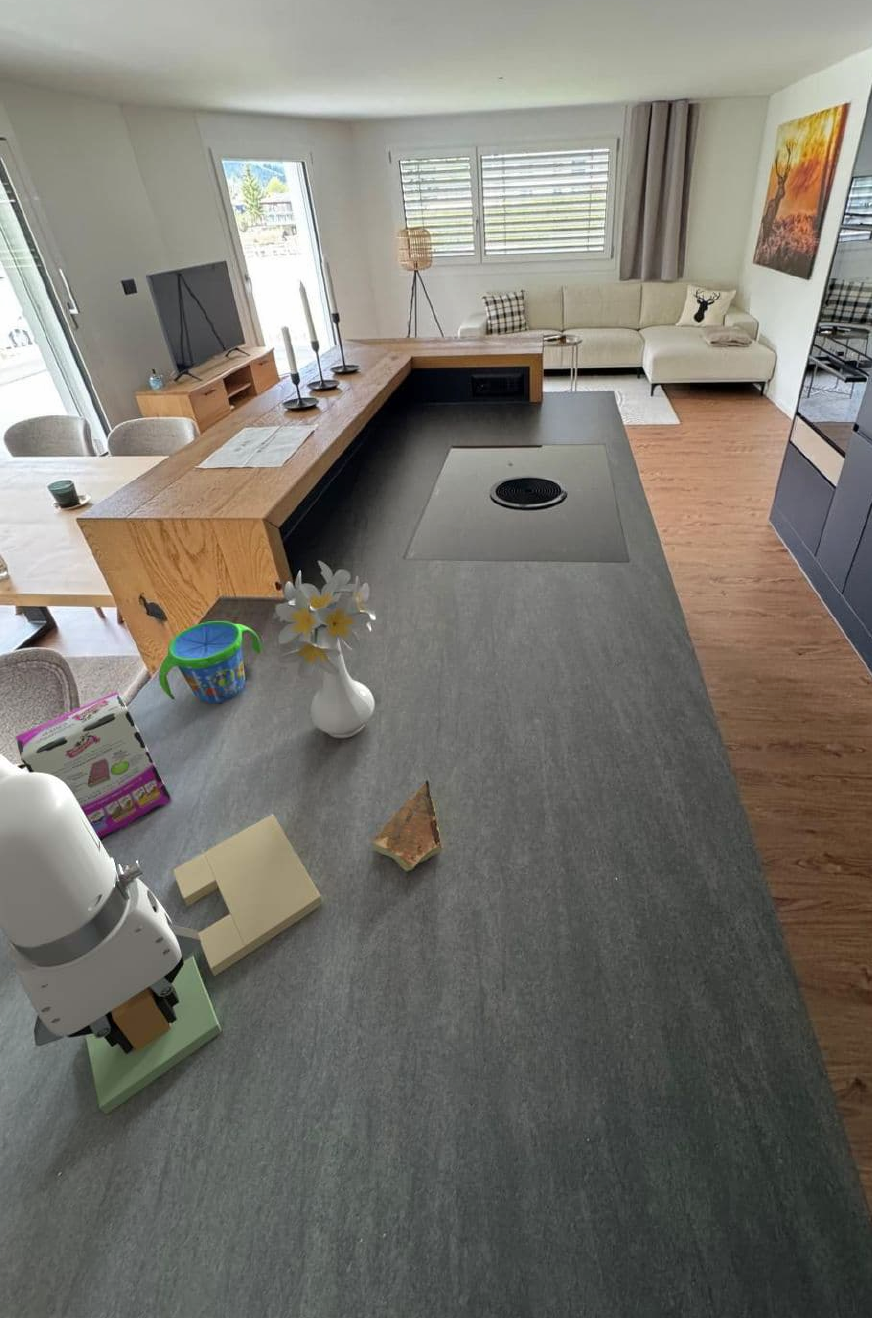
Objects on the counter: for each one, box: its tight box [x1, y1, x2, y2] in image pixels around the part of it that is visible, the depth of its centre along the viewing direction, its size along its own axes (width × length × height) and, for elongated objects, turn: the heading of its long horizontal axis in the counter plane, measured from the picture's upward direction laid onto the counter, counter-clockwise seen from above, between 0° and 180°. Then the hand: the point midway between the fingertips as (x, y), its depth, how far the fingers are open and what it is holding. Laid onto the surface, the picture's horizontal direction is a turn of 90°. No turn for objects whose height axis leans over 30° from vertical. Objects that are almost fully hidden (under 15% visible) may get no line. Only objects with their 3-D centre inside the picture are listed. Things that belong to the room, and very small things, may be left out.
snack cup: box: [158, 620, 262, 704], centre depth 98 cm, size 16×10×10 cm
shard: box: [372, 779, 444, 872], centre depth 76 cm, size 11×8×2 cm
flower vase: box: [272, 560, 377, 739], centre depth 86 cm, size 13×18×25 cm
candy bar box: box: [15, 690, 172, 841], centre depth 76 cm, size 11×5×16 cm, turn 131°
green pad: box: [84, 955, 223, 1115], centre depth 58 cm, size 11×10×8 cm
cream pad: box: [172, 813, 324, 977], centre depth 70 cm, size 12×14×2 cm
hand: (148, 1021), depth 58 cm, fingers closed on green pad, 3 cm apart
